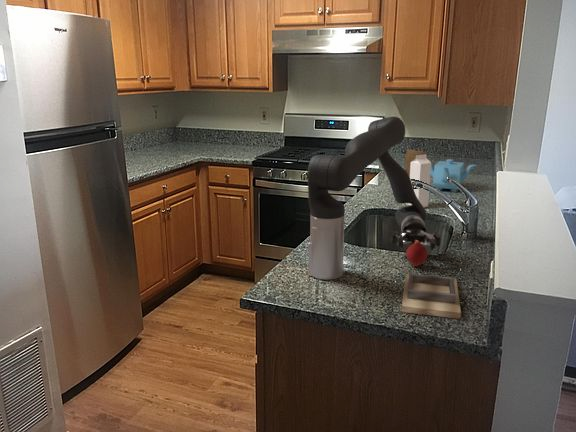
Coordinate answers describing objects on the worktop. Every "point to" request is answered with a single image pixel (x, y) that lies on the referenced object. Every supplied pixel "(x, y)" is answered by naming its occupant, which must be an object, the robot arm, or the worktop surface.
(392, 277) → the worktop surface
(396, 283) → the worktop surface
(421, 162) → the milk
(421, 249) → the red rounded piece
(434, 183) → the teakettle
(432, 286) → the tray
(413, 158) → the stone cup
